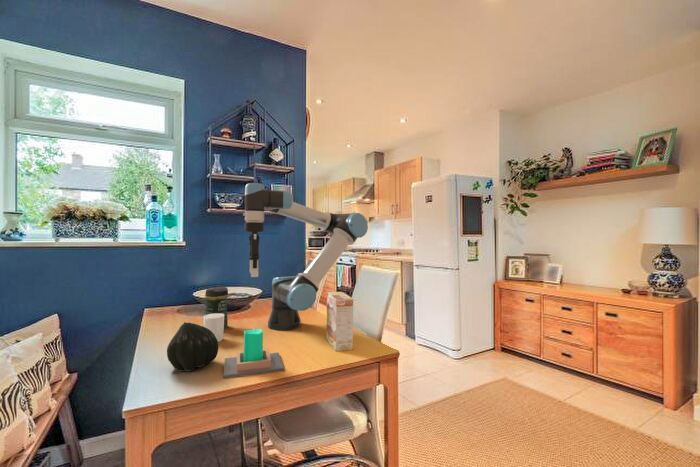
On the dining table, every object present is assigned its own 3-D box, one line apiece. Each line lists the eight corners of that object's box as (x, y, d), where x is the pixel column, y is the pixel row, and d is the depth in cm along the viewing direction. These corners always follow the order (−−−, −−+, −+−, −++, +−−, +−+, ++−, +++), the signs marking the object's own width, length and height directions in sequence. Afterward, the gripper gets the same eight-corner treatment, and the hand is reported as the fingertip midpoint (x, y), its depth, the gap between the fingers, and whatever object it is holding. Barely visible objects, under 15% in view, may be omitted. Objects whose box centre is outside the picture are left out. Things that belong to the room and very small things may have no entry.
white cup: (216, 344, 128) (216, 318, 128) (198, 342, 130) (199, 317, 129) (228, 338, 136) (228, 313, 136) (211, 336, 137) (211, 312, 137)
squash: (229, 351, 106) (213, 311, 112) (180, 366, 95) (166, 321, 101) (214, 370, 113) (201, 332, 120) (168, 387, 102) (155, 343, 109)
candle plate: (278, 354, 118) (278, 346, 118) (283, 370, 105) (283, 361, 105) (224, 360, 112) (225, 351, 112) (223, 378, 99) (223, 368, 99)
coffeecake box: (325, 339, 136) (326, 292, 136) (342, 337, 138) (342, 291, 138) (335, 351, 122) (335, 299, 122) (353, 349, 124) (354, 298, 124)
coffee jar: (213, 332, 143) (213, 289, 143) (201, 329, 147) (201, 287, 147) (231, 326, 152) (231, 286, 152) (219, 324, 156) (219, 285, 156)
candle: (243, 367, 105) (243, 329, 105) (244, 360, 110) (244, 324, 110) (262, 365, 106) (263, 328, 106) (262, 358, 112) (262, 323, 112)
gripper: (243, 222, 143) (243, 271, 143) (245, 220, 120) (244, 279, 120) (261, 222, 146) (261, 270, 146) (266, 221, 122) (265, 278, 122)
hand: (253, 274), depth 133 cm, fingers open, 13 cm apart
